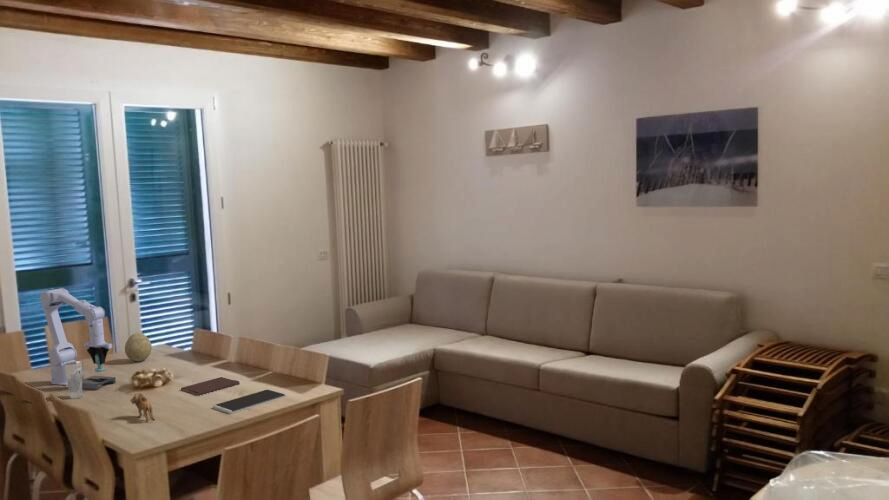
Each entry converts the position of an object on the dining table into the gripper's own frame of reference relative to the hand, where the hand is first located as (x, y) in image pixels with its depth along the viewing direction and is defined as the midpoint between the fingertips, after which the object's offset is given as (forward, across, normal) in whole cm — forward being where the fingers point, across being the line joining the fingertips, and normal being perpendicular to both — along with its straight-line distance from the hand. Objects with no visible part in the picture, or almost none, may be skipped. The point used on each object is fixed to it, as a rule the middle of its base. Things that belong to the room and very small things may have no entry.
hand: (99, 363), depth 306 cm
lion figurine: (+11, -54, +32) cm, 63 cm away
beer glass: (+11, -2, +16) cm, 19 cm away
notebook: (+11, -53, -9) cm, 55 cm away
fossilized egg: (+11, +16, -40) cm, 45 cm away
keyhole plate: (+10, +3, +1) cm, 11 cm away
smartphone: (+12, -83, +5) cm, 84 cm away
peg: (+3, 0, 0) cm, 3 cm away
